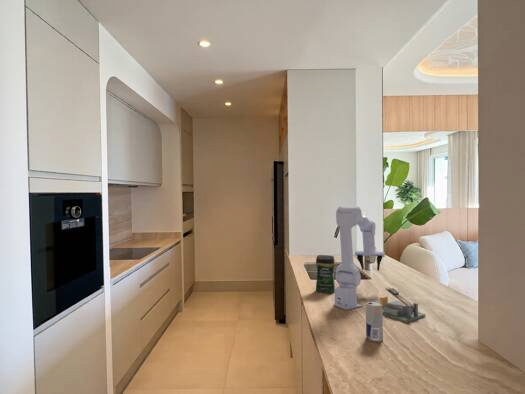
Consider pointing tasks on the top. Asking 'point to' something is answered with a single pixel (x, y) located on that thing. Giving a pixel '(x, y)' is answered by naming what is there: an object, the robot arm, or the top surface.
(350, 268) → the robot arm
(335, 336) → the top surface
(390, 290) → the clamp bar
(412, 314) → the clamp board
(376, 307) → the energy drink
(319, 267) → the coffee jar
